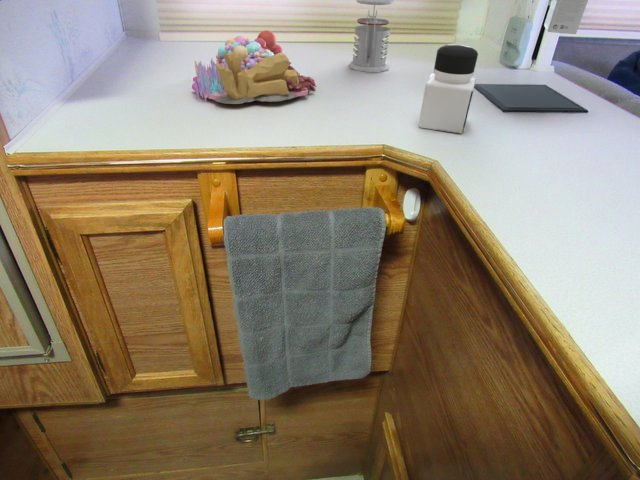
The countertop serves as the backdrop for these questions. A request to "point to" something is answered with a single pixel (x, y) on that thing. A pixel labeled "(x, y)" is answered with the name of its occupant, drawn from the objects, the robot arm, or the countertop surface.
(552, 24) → the cosmetic box
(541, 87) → the slate mat
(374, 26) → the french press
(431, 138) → the countertop surface
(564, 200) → the countertop surface
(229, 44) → the candy landscape model
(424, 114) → the medicine bottle
